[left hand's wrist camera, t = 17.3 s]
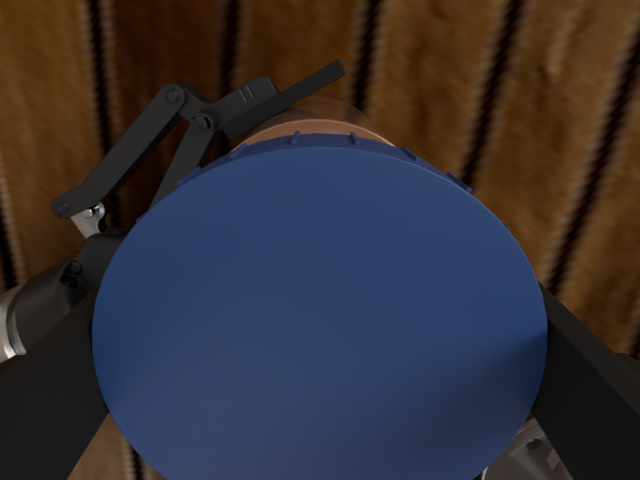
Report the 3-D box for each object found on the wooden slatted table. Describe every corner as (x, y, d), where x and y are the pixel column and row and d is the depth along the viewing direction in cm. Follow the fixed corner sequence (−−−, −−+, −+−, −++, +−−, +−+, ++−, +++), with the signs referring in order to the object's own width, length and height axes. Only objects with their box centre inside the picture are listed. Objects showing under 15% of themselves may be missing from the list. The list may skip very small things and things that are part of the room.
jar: (216, 149, 29) (121, 227, 15) (339, 64, 27) (364, 62, 13) (297, 260, 32) (282, 410, 18) (413, 191, 30) (497, 300, 16)
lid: (381, 507, 15) (391, 575, 13) (76, 384, 13) (31, 441, 11) (594, 257, 12) (653, 296, 10) (224, 41, 10) (198, 31, 8)
